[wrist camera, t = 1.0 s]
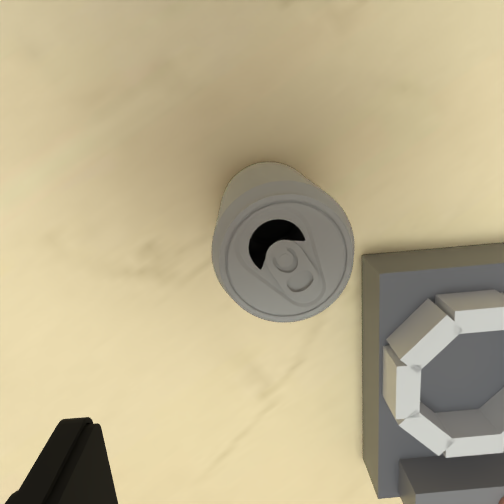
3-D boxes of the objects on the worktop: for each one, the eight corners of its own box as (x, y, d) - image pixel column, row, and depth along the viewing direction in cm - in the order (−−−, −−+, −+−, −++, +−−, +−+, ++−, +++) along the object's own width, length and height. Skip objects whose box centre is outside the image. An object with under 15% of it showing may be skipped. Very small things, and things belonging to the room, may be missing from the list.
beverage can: (280, 141, 27) (310, 150, 16) (330, 219, 29) (391, 279, 17) (202, 196, 28) (177, 242, 17) (255, 269, 30) (265, 357, 18)
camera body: (361, 255, 30) (401, 296, 22) (513, 241, 30) (602, 278, 22) (362, 458, 35) (395, 545, 28) (492, 446, 35) (559, 530, 28)
